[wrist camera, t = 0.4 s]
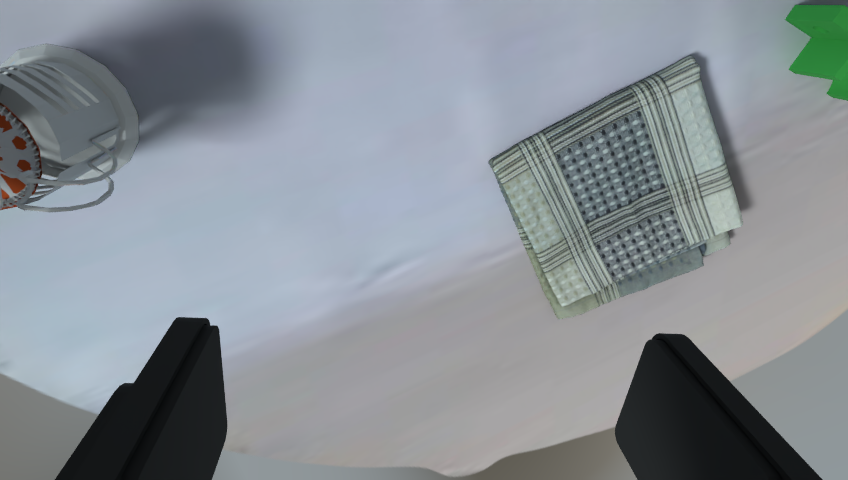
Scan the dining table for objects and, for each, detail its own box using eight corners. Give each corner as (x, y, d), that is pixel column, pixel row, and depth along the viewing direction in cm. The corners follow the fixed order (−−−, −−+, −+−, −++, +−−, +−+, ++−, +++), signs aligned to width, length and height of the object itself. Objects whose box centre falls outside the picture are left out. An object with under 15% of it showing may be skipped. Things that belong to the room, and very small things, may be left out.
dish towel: (480, 156, 41) (488, 168, 38) (686, 51, 38) (711, 55, 35) (555, 317, 48) (566, 337, 46) (729, 238, 46) (753, 253, 43)
